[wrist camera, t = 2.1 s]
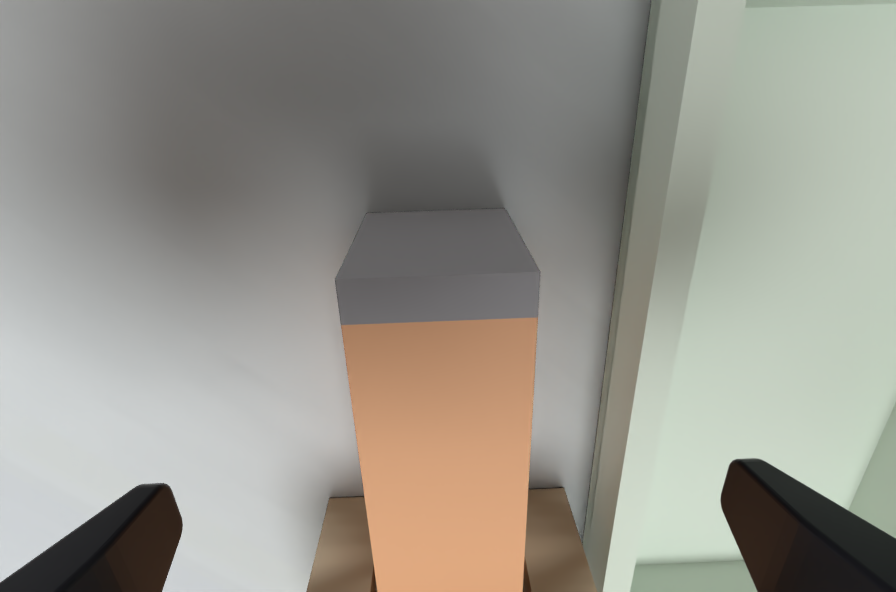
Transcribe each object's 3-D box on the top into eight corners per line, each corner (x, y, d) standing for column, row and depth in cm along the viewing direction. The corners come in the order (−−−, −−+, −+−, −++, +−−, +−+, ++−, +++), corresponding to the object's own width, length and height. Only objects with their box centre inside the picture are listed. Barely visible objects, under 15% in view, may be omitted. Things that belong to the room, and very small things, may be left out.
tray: (1104, -48, 12) (1258, -76, 10) (833, 558, 21) (881, 615, 19) (655, -35, 12) (708, -61, 9) (579, 570, 21) (596, 629, 18)
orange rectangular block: (504, 208, 14) (540, 271, 9) (497, 543, 20) (517, 683, 15) (366, 213, 14) (335, 280, 9) (400, 548, 20) (390, 689, 15)
